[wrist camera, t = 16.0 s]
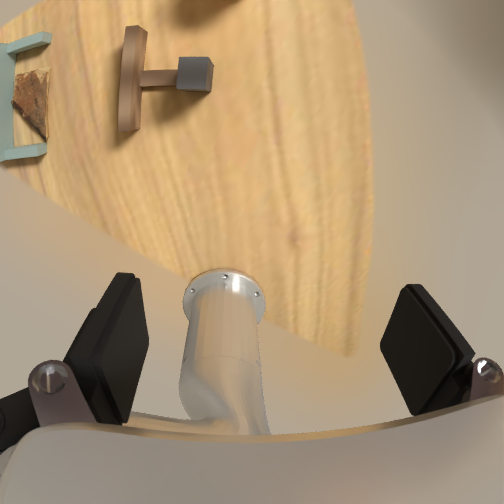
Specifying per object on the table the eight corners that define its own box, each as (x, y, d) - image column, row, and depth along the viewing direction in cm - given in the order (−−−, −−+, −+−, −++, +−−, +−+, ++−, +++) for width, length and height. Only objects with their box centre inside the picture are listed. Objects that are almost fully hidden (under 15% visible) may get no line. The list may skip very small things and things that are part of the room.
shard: (51, 139, 34) (45, 141, 32) (15, 143, 33) (9, 145, 32) (54, 66, 29) (48, 66, 27) (17, 75, 28) (10, 75, 27)
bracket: (46, 152, 34) (23, 162, 29) (8, 157, 33) (-16, 166, 28) (52, 33, 26) (28, 28, 21) (11, 47, 25) (-14, 45, 20)
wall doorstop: (208, 129, 35) (202, 134, 29) (129, 128, 34) (109, 134, 28) (217, 30, 29) (213, 16, 23) (136, 33, 28) (118, 22, 22)
